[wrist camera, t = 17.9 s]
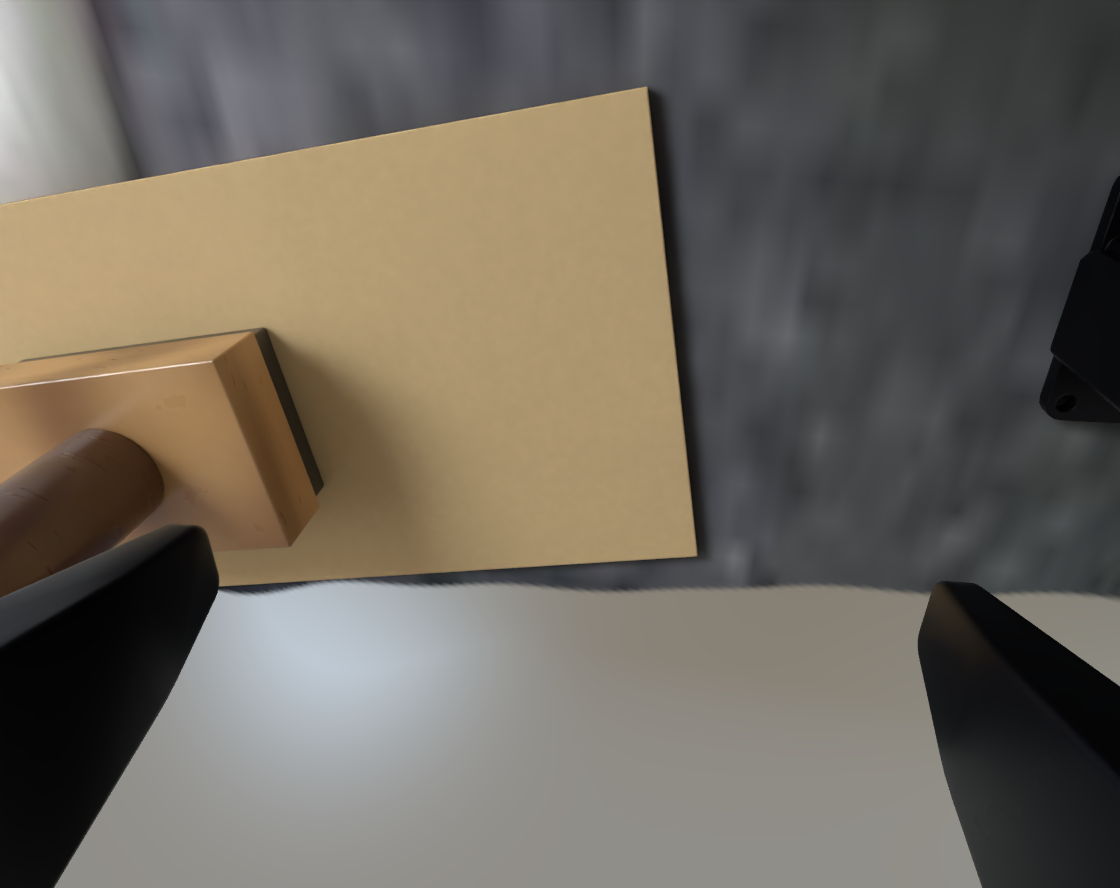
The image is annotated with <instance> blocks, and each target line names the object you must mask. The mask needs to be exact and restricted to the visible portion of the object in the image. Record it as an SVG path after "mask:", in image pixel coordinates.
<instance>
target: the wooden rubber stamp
mask: <svg viewBox="0 0 1120 888" xmlns="http://www.w3.org/2000/svg"><path fill="white" fill-rule="evenodd" d="M323 487H324V483H323V480H322V477H321V475H320V472H319V469H318V467H317V464H316V461H315V459H314V456H313V453H312V450H311V448H310V445H309V442H308V440H307V437H306V434H305V432H304V429H303V426H302V424H301V421H300V418H299V415H298V413H297V410H296V407H295V405H294V402H293V399H292V397H291V394H290V391H289V389H288V386H287V383H286V380H285V378H284V375H283V372H282V370H281V367H280V364H279V362H278V359H277V356H276V353H275V351H274V348H273V345H272V343H271V340H270V337H269V335H268V332H267V329H266V328H264V327H261V328H254V329H246V330H239V331H232V332H224V333H217V334H209V335H202V336H194V337H187V338H180V339H172V340H165V341H157V342H150V343H142V344H135V345H128V346H120V347H113V348H105V349H98V350H91V351H83V352H76V353H68V354H61V355H53V356H46V357H39V358H31V359H24V360H21V361H19V362H17V363H13V364H6V365H0V598H1V597H3V596H6V595H8V594H10V593H13V592H15V591H17V590H19V589H22V588H24V587H26V586H28V585H31V584H33V583H35V582H37V581H40V580H42V579H44V578H46V577H49V576H51V575H53V574H56V573H58V572H60V571H62V570H65V569H67V568H69V567H71V566H74V565H76V564H78V563H80V562H83V561H85V560H87V559H89V558H92V557H94V556H96V555H98V554H101V553H103V552H105V551H108V550H110V549H112V548H114V547H117V546H119V545H121V544H123V543H126V542H128V541H130V540H132V539H135V538H137V537H139V536H141V535H144V534H146V533H148V532H150V531H153V530H155V529H157V528H160V527H162V526H164V525H167V524H171V523H180V524H193V525H199V526H201V527H203V528H204V529H205V531H206V532H207V534H208V537H209V540H210V544H211V548H212V551H213V553H215V552H229V551H243V550H257V549H270V548H284V547H290V546H292V544H293V543H294V542H295V540H296V539H297V538H298V536H299V535H300V533H301V532H302V531H303V529H304V528H305V527H306V525H307V524H308V522H309V521H310V520H311V518H312V517H313V516H314V514H315V513H316V511H317V510H318V509H319V503H318V500H317V498H316V496H317V495H318V493H319V492H320V491H321V489H322V488H323Z"/></svg>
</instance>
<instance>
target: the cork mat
mask: <svg viewBox="0 0 1120 888" xmlns="http://www.w3.org/2000/svg"><path fill="white" fill-rule="evenodd" d="M261 327H264V328H266V329H267V332H268V335H269V337H270V340H271V343H272V345H273V348H274V351H275V353H276V356H277V359H278V362H279V364H280V367H281V370H282V372H283V375H284V378H285V380H286V383H287V386H288V389H289V391H290V394H291V397H292V399H293V402H294V405H295V407H296V410H297V413H298V415H299V418H300V421H301V424H302V426H303V429H304V432H305V434H306V437H307V440H308V442H309V445H310V448H311V450H312V453H313V456H314V459H315V461H316V464H317V467H318V469H319V472H320V475H321V477H322V480H323V483H324V487H323V488H322V489H321V491H320V492H319V493H318V495H317V496H316V498H317V500H318V503H319V509H318V510H317V511H316V513H315V514H314V516H313V517H312V518H311V520H310V521H309V522H308V524H307V525H306V527H305V528H304V529H303V531H302V532H301V533H300V535H299V536H298V538H297V539H296V540H295V542H294V543H293V544H292V546H290V547H284V548H270V549H257V550H243V551H229V552H215V553H213V555H214V558H215V562H216V566H217V569H218V573H219V586H234V585H250V584H266V583H282V582H298V581H314V580H330V579H345V578H361V577H377V576H393V575H409V574H425V573H441V572H456V571H472V570H488V569H504V568H520V567H536V566H552V565H567V564H583V563H599V562H615V561H631V560H647V559H663V558H678V557H694V556H697V555H698V553H697V543H696V534H695V524H694V515H693V505H692V496H691V487H690V477H689V468H688V459H687V449H686V440H685V431H684V421H683V412H682V403H681V393H680V384H679V375H678V365H677V356H676V347H675V337H674V328H673V319H672V309H671V300H670V291H669V281H668V272H667V262H666V253H665V244H664V234H663V225H662V216H661V206H660V197H659V188H658V178H657V169H656V160H655V150H654V141H653V132H652V122H651V113H650V104H649V94H648V87H641V88H636V89H630V90H625V91H619V92H614V93H608V94H603V95H597V96H592V97H586V98H581V99H575V100H570V101H564V102H559V103H554V104H548V105H543V106H537V107H532V108H526V109H521V110H515V111H510V112H504V113H499V114H493V115H488V116H482V117H477V118H471V119H466V120H460V121H455V122H450V123H444V124H439V125H433V126H428V127H422V128H417V129H411V130H406V131H400V132H395V133H389V134H384V135H378V136H373V137H367V138H362V139H356V140H351V141H346V142H340V143H335V144H329V145H324V146H318V147H313V148H307V149H302V150H296V151H291V152H285V153H280V154H274V155H269V156H263V157H258V158H252V159H247V160H242V161H236V162H231V163H225V164H220V165H214V166H209V167H203V168H198V169H192V170H187V171H181V172H176V173H170V174H165V175H159V176H154V177H148V178H143V179H138V180H132V181H127V182H121V183H116V184H110V185H105V186H99V187H94V188H88V189H83V190H77V191H72V192H66V193H61V194H55V195H50V196H44V197H39V198H34V199H28V200H23V201H17V202H12V203H6V204H1V205H0V365H6V364H13V363H17V362H19V361H21V360H24V359H31V358H39V357H46V356H53V355H61V354H68V353H76V352H83V351H91V350H98V349H105V348H113V347H120V346H128V345H135V344H142V343H150V342H157V341H165V340H172V339H180V338H187V337H194V336H202V335H209V334H217V333H224V332H232V331H239V330H246V329H254V328H261Z"/></svg>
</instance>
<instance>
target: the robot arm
mask: <svg viewBox="0 0 1120 888" xmlns="http://www.w3.org/2000/svg"><path fill="white" fill-rule="evenodd" d="M1051 352H1052V353H1053V355H1054V357H1053V360H1052V363H1051V366H1050V369H1049V372H1048V375H1047V377H1046V380H1045V383H1044V386H1043V389H1042V392H1041V395H1040V401H1039V403H1040V405H1041V408H1042V409H1043V410H1044V411H1045V412H1046V413H1047V414H1048V415H1049V416H1051V417H1052V418H1054V419H1058V420H1068V421H1087V422H1105V423H1120V176H1119V177H1118V178H1117V179H1116V181H1115V183H1114V184H1113V186H1112V189H1111V192H1110V195H1109V198H1108V200H1107V203H1106V206H1105V209H1104V212H1103V215H1102V218H1101V221H1100V224H1099V227H1098V229H1097V232H1096V235H1095V238H1094V241H1093V244H1092V247H1091V250H1090V252H1089V253H1088V254H1087V255H1086V256H1085V257H1083V258H1082V259H1081V260H1080V263H1079V266H1078V268H1077V271H1076V274H1075V277H1074V280H1073V283H1072V286H1071V289H1070V292H1069V295H1068V298H1067V301H1066V304H1065V307H1064V310H1063V313H1062V316H1061V318H1060V321H1059V324H1058V327H1057V330H1056V333H1055V336H1054V339H1053V342H1052V345H1051ZM1065 395H1070V398H1069V399H1068V401H1067V402H1066V403H1064V404H1062V405H1058V406H1056V402H1057V401H1058V399H1059V398H1061V397H1062V396H1065ZM218 589H219V573H218V569H217V566H216V562H215V558H214V555H213V551H212V548H211V544H210V540H209V537H208V534H207V532H206V531H205V529H204V528H203V527H201V526H199V525H193V524H180V523H171V524H167V525H164V526H162V527H160V528H157V529H155V530H153V531H150V532H148V533H146V534H144V535H141V536H139V537H137V538H135V539H132V540H130V541H128V542H126V543H123V544H121V545H119V546H117V547H114V548H112V549H110V550H108V551H105V552H103V553H101V554H98V555H96V556H94V557H92V558H89V559H87V560H85V561H83V562H80V563H78V564H76V565H74V566H71V567H69V568H67V569H65V570H62V571H60V572H58V573H56V574H53V575H51V576H49V577H46V578H44V579H42V580H40V581H37V582H35V583H33V584H31V585H28V586H26V587H24V588H22V589H19V590H17V591H15V592H13V593H10V594H8V595H6V596H3V597H1V598H0V888H54V887H55V885H56V884H57V882H58V880H59V879H60V877H61V875H62V873H63V872H64V870H65V869H66V867H67V865H68V864H69V862H70V860H71V859H72V857H73V855H74V854H75V852H76V850H77V849H78V847H79V845H80V844H81V842H82V840H83V839H84V837H85V835H86V834H87V832H88V830H89V829H90V827H91V825H92V824H93V822H94V820H95V819H96V817H97V815H98V814H99V812H100V810H101V809H102V807H103V805H104V804H105V802H106V800H107V799H108V797H109V795H110V794H111V792H112V790H113V789H114V787H115V785H116V784H117V782H118V781H119V779H120V777H121V776H122V774H123V772H124V770H125V768H126V767H127V766H128V764H129V762H130V761H131V759H132V757H133V756H134V754H135V752H136V751H137V749H138V747H139V746H140V744H141V742H142V741H143V739H144V737H145V735H146V734H147V732H148V731H149V729H150V727H151V725H152V724H153V722H154V721H155V719H156V717H157V716H158V714H159V712H160V710H161V709H162V707H163V705H164V703H165V702H166V700H167V698H168V696H169V694H170V692H171V690H172V688H173V686H174V684H175V682H176V680H177V679H178V676H179V674H180V672H181V670H182V668H183V666H184V664H185V661H186V659H187V657H188V655H189V653H190V651H191V649H192V647H193V644H194V642H195V640H196V638H197V636H198V634H199V632H200V630H201V627H202V625H203V623H204V621H205V619H206V617H207V615H208V613H209V610H210V608H211V606H212V604H213V602H214V600H215V598H216V595H217V593H218ZM918 654H919V659H920V664H921V668H922V673H923V678H924V682H925V687H926V691H927V696H928V701H929V706H930V711H931V715H932V720H933V725H934V729H935V734H936V739H937V743H938V748H939V753H940V757H941V761H942V765H943V769H944V774H945V777H946V780H947V783H948V787H949V790H950V793H951V797H952V800H953V803H954V806H955V808H956V812H957V814H958V817H959V820H960V823H961V826H962V829H963V832H964V835H965V838H966V841H967V844H968V847H969V850H970V853H971V856H972V859H973V862H974V865H975V867H976V871H977V874H978V877H979V879H980V882H981V885H982V888H1120V686H1118V685H1117V684H1116V683H1114V682H1113V681H1111V680H1110V679H1109V678H1107V677H1106V676H1105V675H1103V674H1102V673H1100V672H1099V671H1098V670H1096V669H1094V668H1093V667H1092V666H1091V665H1089V664H1088V663H1086V662H1085V661H1084V660H1082V659H1081V658H1079V657H1078V656H1077V655H1075V654H1074V653H1072V652H1071V651H1070V650H1068V649H1067V648H1065V647H1064V646H1063V645H1061V644H1060V643H1059V642H1057V641H1056V640H1054V639H1053V638H1051V637H1050V636H1049V635H1047V634H1046V633H1044V632H1043V631H1042V630H1040V629H1039V628H1038V627H1036V626H1035V625H1033V624H1032V623H1031V622H1029V621H1028V620H1026V619H1025V618H1024V617H1022V616H1021V615H1019V614H1018V613H1017V612H1015V611H1014V610H1012V609H1011V608H1010V607H1008V606H1007V605H1005V604H1004V603H1003V602H1001V601H1000V600H999V599H997V598H996V597H994V596H993V595H992V594H990V593H989V592H987V591H986V590H985V589H983V588H982V587H980V586H979V585H977V584H974V583H965V582H952V581H941V582H939V583H937V584H936V585H935V587H934V588H933V590H932V593H931V596H930V599H929V602H928V606H927V609H926V612H925V615H924V619H923V622H922V625H921V628H920V631H919V636H918Z"/></svg>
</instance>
